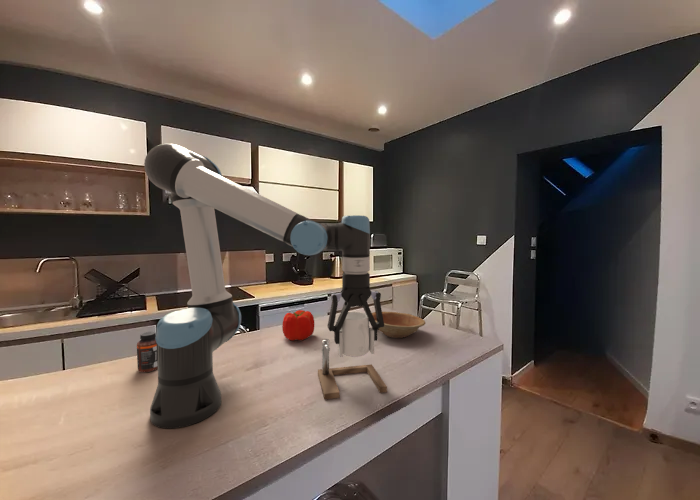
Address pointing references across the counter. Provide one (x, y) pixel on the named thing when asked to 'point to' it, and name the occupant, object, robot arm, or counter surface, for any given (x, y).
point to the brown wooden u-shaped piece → (329, 381)
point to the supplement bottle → (147, 352)
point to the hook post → (325, 356)
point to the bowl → (399, 324)
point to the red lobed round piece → (298, 325)
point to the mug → (355, 334)
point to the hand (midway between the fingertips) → (356, 353)
